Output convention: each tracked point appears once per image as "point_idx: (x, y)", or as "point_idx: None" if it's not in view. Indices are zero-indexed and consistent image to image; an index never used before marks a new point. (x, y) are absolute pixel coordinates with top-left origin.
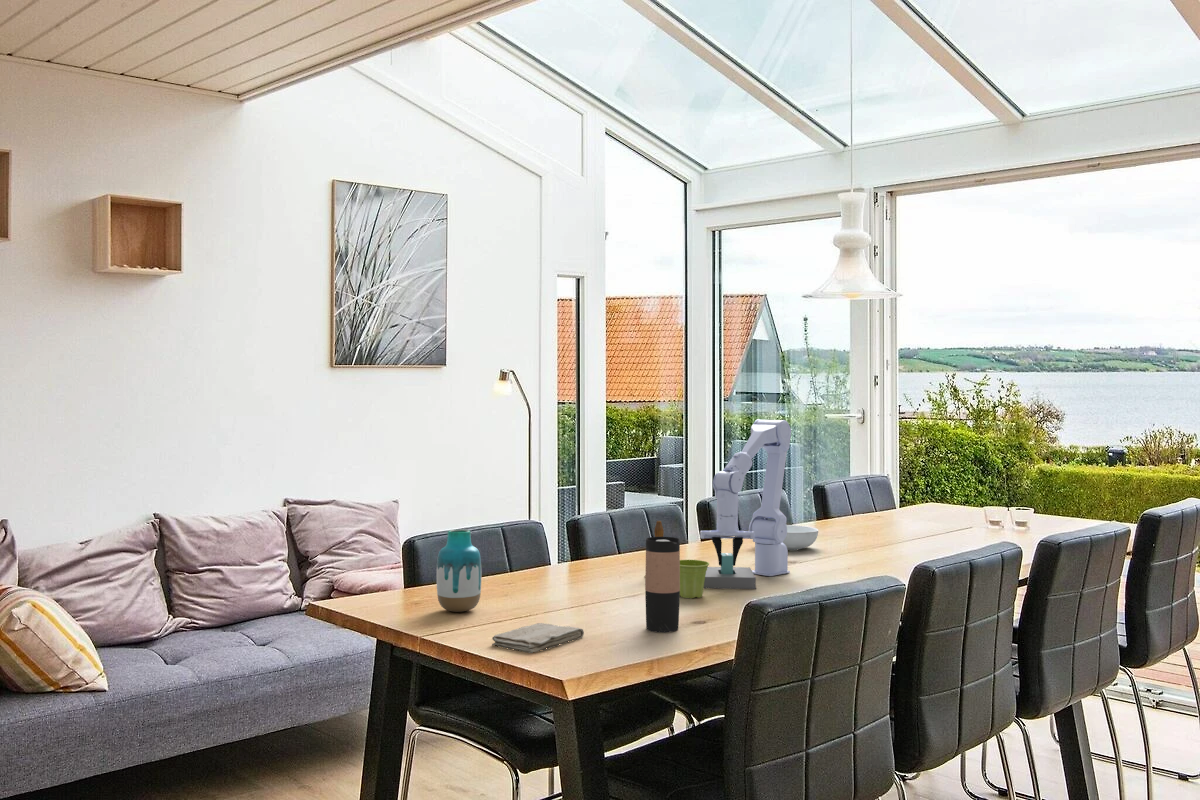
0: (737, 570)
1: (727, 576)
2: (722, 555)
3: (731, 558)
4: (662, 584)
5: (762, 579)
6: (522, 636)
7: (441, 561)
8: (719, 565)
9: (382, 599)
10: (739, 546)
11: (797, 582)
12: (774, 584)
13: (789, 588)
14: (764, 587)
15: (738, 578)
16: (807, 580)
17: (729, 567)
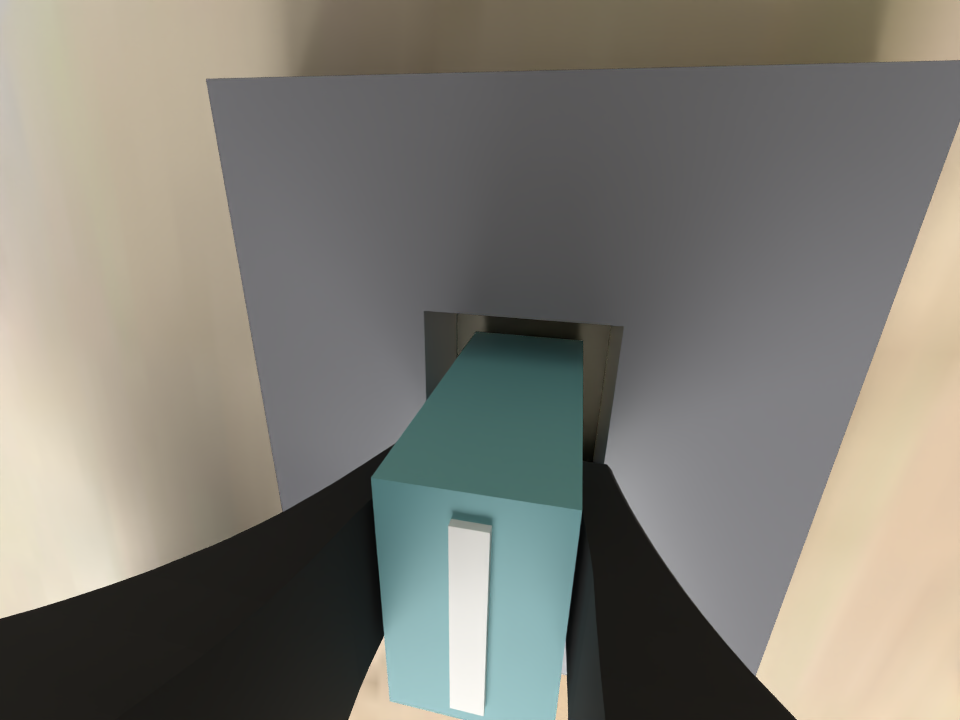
0: None
1: (548, 140)
2: (564, 553)
3: (416, 455)
4: None
5: (264, 503)
6: None
7: None
8: (608, 466)
9: None
10: (95, 606)
11: (53, 392)
12: (171, 326)
13: (44, 156)
14: (224, 193)
15: (412, 75)
16: (20, 449)
17: (481, 393)
